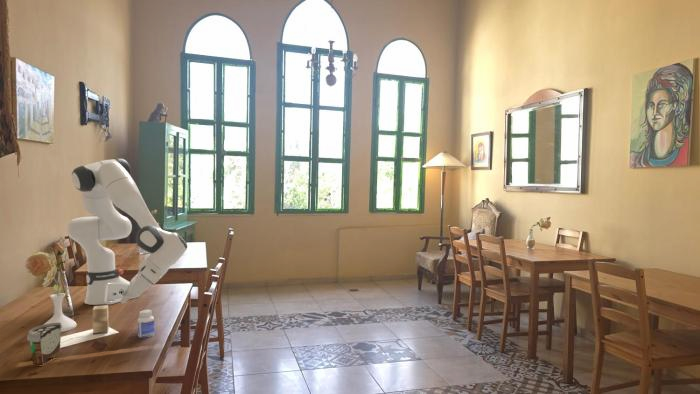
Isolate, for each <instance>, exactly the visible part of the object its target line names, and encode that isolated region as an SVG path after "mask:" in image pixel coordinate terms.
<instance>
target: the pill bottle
mask: <svg viewBox="0 0 700 394" xmlns="http://www.w3.org/2000/svg"><path fill="white" fill-rule="evenodd" d="M152 314H153V311H152V310H151V309H143V310H140V311H139V314H138V315H139V317H138V318H137V337H138V338H142V339H144V338H150V337H153V336H154V335H156V334H155V333H156V332H155V331H156V330H155V317H154V316H153V315H152Z"/></svg>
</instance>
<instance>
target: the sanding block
mask: <svg viewBox="0 0 700 394" xmlns="http://www.w3.org/2000/svg"><path fill="white" fill-rule="evenodd" d="M109 324H110V321H109V304H102V305H93V308H92V329H93V335H95V334H104V333H108V330H109V327H110V325H109Z"/></svg>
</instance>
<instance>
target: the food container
mask: <svg viewBox="0 0 700 394" xmlns="http://www.w3.org/2000/svg"><path fill="white" fill-rule="evenodd" d="M44 324H45V323H44ZM44 324H42V325H38V326H35V327H33V328H31V329H30V330H29V331H28V333H27V336H26V339H27V340H26V341H28V342H29V343H30V344H29V345H30V351H31V352H30V353H31V359H32V364H33V365H34V364H35V365H34V366H36V365H43V364H45V363H46V364H48V363H49V362H50V360H51V359H52V360H53V359H55V358H54V357H52V356H53V355H54V354H55V355H56V353H58V352H59V351H61V348H60V340H61V337H62V336H61V335H62V334H61V333H62V332H61V328H62V325H61V322H59V323H50V324H45V325H44ZM52 360H51V361H52ZM48 361H49V362H48ZM47 362H48V363H47ZM46 364H45V365H46Z"/></svg>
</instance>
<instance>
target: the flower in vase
mask: <svg viewBox="0 0 700 394" xmlns="http://www.w3.org/2000/svg"><path fill="white" fill-rule="evenodd" d="M57 271H58V268H57V266H56V265H55V266H52V267H51V268H50V270H48V271H47V274H46V277H44V278H43V283H42V284H41V286H43V288H46V287H48V286H49V285H50V284H51V283H52V282H53V281H54V282H55V284H54V285H53V287H52V289H53V291H55V292H56V293H53V294H50V295H49V297H50V298H51V300H52V302H53V305H54V306H53V307H54V314H53V316H52V317H51V318H50V319H48V320H47V321H46V322H45V323H44V324H43V325H45V324H50V323H59V322H61V325H62V328H61V333H64V332H69V331H71V330H73V329H75V328H76V327H77V326H78V324H77V323H76V321H74V319H72V318H70V317H69V316H66V314H64V312H63V309H62V307H63V306H62V305H63V300H64V297H65V296H66V293H64V292H61V287H60V286H59V283H58V281H57V280H56V278H55V276H56V275H57Z"/></svg>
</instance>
